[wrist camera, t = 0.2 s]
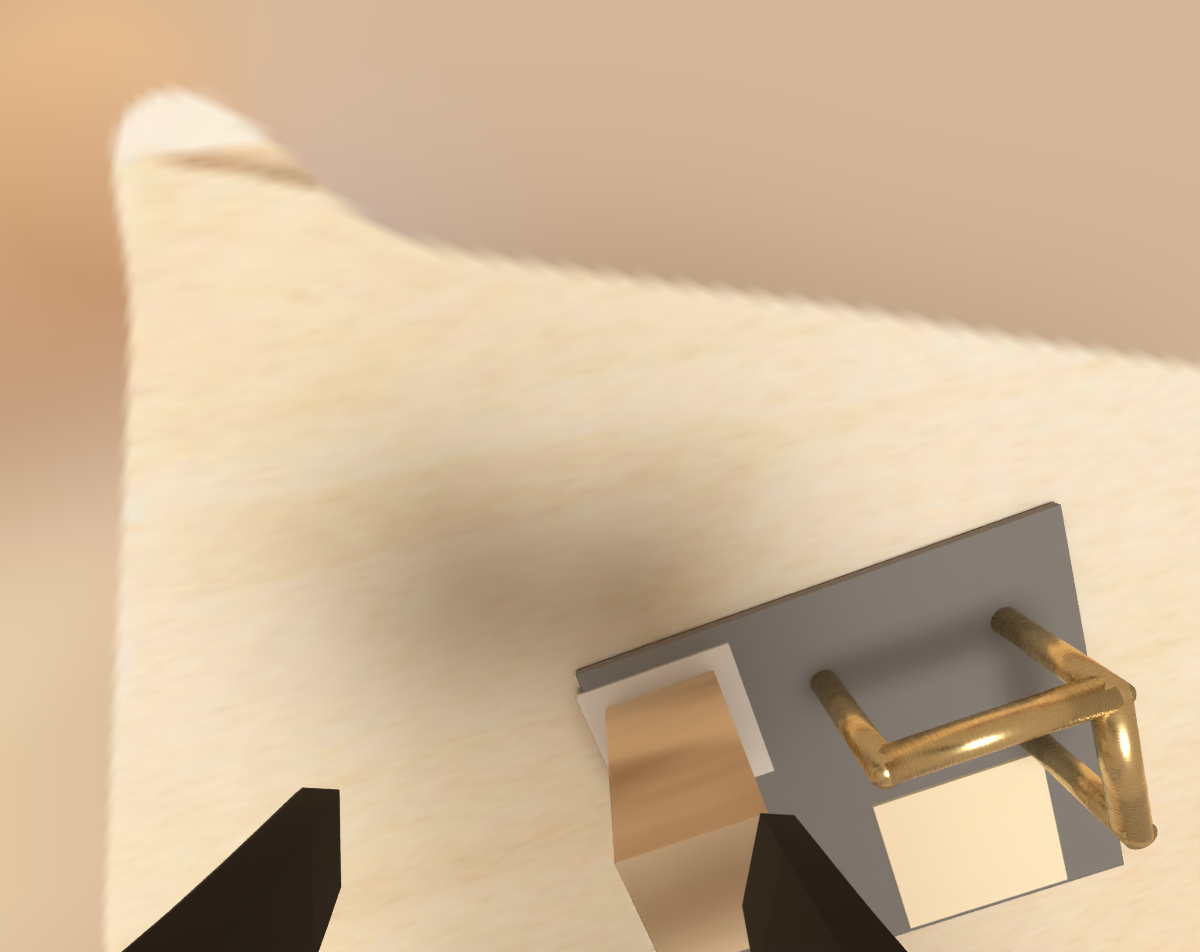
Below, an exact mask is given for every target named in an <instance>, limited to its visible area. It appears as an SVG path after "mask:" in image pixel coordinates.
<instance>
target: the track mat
mask: <svg viewBox="0 0 1200 952" xmlns="http://www.w3.org/2000/svg"><path fill="white" fill-rule="evenodd" d="M1004 607H1011V608H1014V609H1016V610H1017V611H1019V612H1020V613H1022V614H1023V615H1025V616H1027V617H1028V618H1030V619H1031V620H1033V621H1034V622H1036V623H1037V624H1039V625H1040V626H1042V627H1043V628H1045V629H1046V630H1048V631H1050V632H1051V633H1053V634H1054V635H1056V636H1057V637H1059V638H1060V639H1062V640H1063V641H1065V642H1066V643H1068V644H1070V645H1071V646H1073V647H1074V648H1076V649H1077V650H1079V651H1080V652H1082V653H1083V654H1085V655H1086V656H1087V652H1086V646H1085V640H1084V635H1083V629H1082V623H1081V618H1080V612H1079V606H1078V601H1077V595H1076V589H1075V583H1074V578H1073V572H1072V566H1071V561H1070V555H1069V549H1068V544H1067V538H1066V532H1065V527H1064V521H1063V515H1062V510H1061V505H1060V504H1057V503H1055V502H1052V503H1049V504H1046V505H1043V506H1041V507H1038V508H1035V509H1032V510H1029V511H1026V512H1024V513H1021V514H1018V515H1015V516H1012V517H1009V518H1007V519H1004V520H1001V521H998V522H995V523H993V524H990V525H987V526H984V527H981V528H978V529H976V530H973V531H970V532H967V533H964V534H961V535H959V536H956V537H953V538H950V539H947V540H944V541H942V542H939V543H936V544H933V545H930V546H928V547H925V548H922V549H919V550H916V551H913V552H911V553H908V554H905V555H902V556H899V557H896V558H894V559H891V560H888V561H885V562H882V563H879V564H877V565H874V566H871V567H868V568H865V569H863V570H860V571H857V572H854V573H851V574H848V575H846V576H843V577H840V578H837V579H834V580H831V581H829V582H826V583H823V584H820V585H817V586H815V587H812V588H809V589H806V590H803V591H800V592H798V593H795V594H792V595H789V596H786V597H783V598H781V599H778V600H775V601H772V602H769V603H766V604H764V605H761V606H758V607H755V608H752V609H750V610H747V611H744V612H741V613H738V614H735V615H733V616H730V617H727V618H724V619H721V620H718V621H716V622H713V623H710V624H707V625H704V626H701V627H699V628H696V629H693V630H690V631H687V632H685V633H682V634H679V635H676V636H673V637H670V638H668V639H665V640H662V641H659V642H656V643H653V644H651V645H648V646H645V647H642V648H639V649H636V650H634V651H631V652H628V653H625V654H622V655H620V656H617V657H614V658H611V659H608V660H605V661H603V662H600V663H597V664H594V665H591V666H588V667H586V668H583V669H580V670H577V671H576V677H577V679H578V682H579V684H580V686H581V688H582V691H583V693H580V694H577V695H575V698H576V700H577V702H578V704H579V707H580V709H581V711H582V713H583V715H584V718H585V720H586V722H587V724H588V726H589V729H590V731H591V733H592V735H593V738H594V740H595V742H596V744H597V746H598V749H599V751H600V753H601V755H602V757H603V760H604V762H605V764H606V766H607V769H608V771H609V765H608V749H607V733H606V717H605V708H606V707H609V706H612V705H615V704H618V703H621V702H624V701H626V700H629V699H632V698H635V697H638V696H641V695H644V694H647V693H649V692H652V691H655V690H658V689H661V688H664V687H667V686H669V685H672V684H675V683H678V682H681V681H684V680H687V679H690V678H692V677H695V676H698V675H701V674H704V673H707V672H710V671H713V670H714V673H715V676H716V678H717V681H718V683H719V686H720V689H721V691H722V694H723V696H724V699H725V702H726V704H727V707H728V709H729V712H730V715H731V717H732V720H733V722H734V725H735V728H736V730H737V733H738V735H739V738H740V741H741V743H742V746H743V748H744V751H745V754H746V756H747V759H748V761H749V764H750V766H751V769H752V772H753V774H754V777H755V779H756V782H757V785H758V787H759V790H760V792H761V795H762V798H763V800H764V803H765V805H766V808H767V811H768V813H769V814H786V815H795V816H796V818H797V819H798V820H799V821H800V822H801V824H802V825H803V826H804V827H805V829H806V830H807V831H808V832H809V833H810V835H811V836H812V837H813V838H814V840H815V841H816V842H817V843H818V845H819V846H820V847H821V848H822V850H823V851H824V852H825V853H826V855H827V856H828V857H829V858H830V860H831V861H832V862H833V863H834V865H835V866H836V867H837V868H838V870H839V871H840V872H841V873H842V874H843V876H844V877H845V878H846V879H847V881H848V882H849V883H850V884H851V886H852V887H853V888H854V889H855V890H856V892H857V893H858V894H859V895H860V897H861V898H862V899H863V900H864V901H865V903H866V904H867V905H868V906H869V907H870V909H871V910H872V911H873V912H874V913H875V915H876V916H877V917H878V918H879V919H880V920H881V922H882V923H883V924H884V925H885V926H886V927H887V929H888V930H889V931H890V932H891V933H892V934H893V936H897V935H901V934H904V933H907V932H910V931H913V930H917V929H920V928H923V927H926V926H929V925H933V924H936V923H939V922H942V921H945V920H949V919H952V918H955V917H958V916H961V915H965V914H968V913H971V912H974V911H977V910H981V909H984V908H987V907H990V906H993V905H997V904H1000V903H1003V902H1006V901H1009V900H1013V899H1016V898H1019V897H1022V896H1025V895H1028V894H1032V893H1035V892H1038V891H1041V890H1044V889H1048V888H1051V887H1054V886H1057V885H1060V884H1064V883H1067V882H1070V881H1073V880H1076V879H1080V878H1083V877H1086V876H1089V875H1092V874H1096V873H1099V872H1102V871H1105V870H1108V869H1112V868H1115V867H1118V866H1121V865H1124V862H1123V856H1122V851H1121V845H1120V840H1119V839H1118V838H1117V837H1116V836H1115V835H1114V834H1113V833H1112V832H1111V831H1110V830H1109V829H1108V828H1107V827H1106V826H1105V825H1104V824H1103V823H1102V822H1100V821H1099V820H1098V819H1097V818H1096V817H1095V816H1094V815H1093V814H1092V813H1091V812H1090V811H1089V810H1088V809H1087V808H1086V807H1085V806H1084V805H1083V804H1082V803H1081V802H1080V801H1078V800H1077V799H1076V798H1075V797H1074V796H1073V795H1072V794H1071V793H1070V792H1069V791H1068V790H1067V789H1066V788H1065V787H1064V786H1063V785H1062V784H1061V783H1060V782H1059V781H1057V780H1056V779H1055V778H1054V777H1053V776H1052V775H1051V774H1050V773H1049V772H1048V771H1047V770H1046V769H1045V768H1044V767H1043V766H1042V765H1041V764H1040V763H1039V762H1038V761H1036V760H1035V759H1034V758H1033V757H1032V756H1031V755H1030V754H1029V753H1028V752H1027V751H1026V750H1025V749H1024V748H1023V747H1022V746H1021V745H1020V744H1017V745H1014V746H1011V747H1008V748H1005V749H1002V750H999V751H996V752H993V753H990V754H986V755H983V756H980V757H977V758H974V759H971V760H968V761H965V762H962V763H959V764H956V765H953V766H950V767H947V768H944V769H941V770H938V771H935V772H932V773H929V774H926V775H923V776H920V777H917V778H914V779H911V780H908V781H904V782H901V783H900V784H899V785H897V786H896V787H894V788H891V789H879V788H877V787H875V786H874V785H873V784H872V783H871V781H870V780H869V778H868V777H867V775H866V773H865V772H864V770H863V769H862V767H861V766H860V764H859V762H858V761H857V759H856V758H855V756H854V755H853V753H852V751H851V750H850V748H849V747H848V745H847V744H846V742H845V740H844V739H843V737H842V736H841V734H840V733H839V731H838V729H837V728H836V726H835V725H834V723H833V722H832V720H831V718H830V717H829V715H828V714H827V712H826V711H825V709H824V707H823V706H822V704H821V703H820V701H819V700H818V698H817V696H816V695H815V693H814V692H813V690H812V689H811V686H810V682H811V679H812V677H813V676H814V674H816V673H817V672H819V671H821V670H831V671H833V672H835V673H836V674H837V676H838V677H839V679H840V680H841V681H842V683H843V684H844V685H845V687H846V688H847V689H848V691H849V692H850V694H851V695H852V696H853V698H854V699H855V700H856V702H857V703H858V704H859V706H860V707H861V709H862V710H863V711H864V713H865V714H866V715H867V717H868V718H869V719H870V721H871V722H872V724H873V725H874V726H875V728H876V729H877V730H878V732H879V733H880V734H881V736H882V737H883V739H884V740H885V741H886V743H889V742H892V741H895V740H898V739H901V738H904V737H907V736H910V735H913V734H916V733H919V732H922V731H925V730H928V729H931V728H934V727H937V726H940V725H943V724H946V723H949V722H952V721H955V720H958V719H961V718H964V717H967V716H970V715H973V714H976V713H979V712H982V711H985V710H988V709H991V708H994V707H997V706H1000V705H1003V704H1006V703H1009V702H1012V701H1015V700H1018V699H1021V698H1024V697H1027V696H1030V695H1033V694H1036V693H1039V692H1042V691H1045V690H1048V689H1051V688H1054V687H1057V686H1060V685H1063V684H1066V683H1065V682H1064V681H1062V680H1061V679H1059V678H1058V677H1057V676H1055V675H1054V674H1053V673H1051V672H1050V671H1049V670H1047V669H1046V668H1044V667H1043V666H1042V665H1040V664H1039V663H1038V662H1036V661H1035V660H1034V659H1032V658H1031V657H1030V656H1028V655H1027V654H1025V653H1024V652H1023V651H1021V650H1020V649H1019V648H1017V647H1016V646H1015V645H1013V644H1012V643H1011V642H1009V641H1008V640H1006V639H1005V638H1004V637H1002V636H1001V635H1000V634H998V633H997V632H996V631H994V630H993V628H992V627H991V619H992V616H993V615H994V614H995V612H997V611H998V610H999V609H1001V608H1004ZM1050 735H1051V736H1053V737H1054V738H1055V739H1056V740H1057V741H1058V742H1060V743H1061V744H1062V745H1063V746H1064V747H1065V748H1066V749H1068V750H1069V751H1070V752H1071V753H1072V754H1073V755H1074V756H1076V757H1077V758H1078V759H1079V760H1080V761H1081V762H1083V763H1084V764H1085V765H1086V766H1087V767H1088V768H1089V769H1091V770H1092V771H1093V772H1094V773H1095V774H1096V775H1097V776H1099V777H1100V771H1099V766H1098V760H1097V755H1096V749H1095V744H1094V738H1093V733H1092V727H1091V721H1087V722H1084V723H1081V724H1078V725H1075V726H1072V727H1068V728H1065V729H1062V730H1059V731H1056V732H1053V733H1050ZM1100 778H1101V777H1100ZM739 952H750V948H749V949H745V950H742V951H739Z"/></svg>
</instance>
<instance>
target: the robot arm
mask: <svg viewBox="0 0 1200 952" xmlns="http://www.w3.org/2000/svg"><path fill="white" fill-rule="evenodd" d="M340 889H341V853H340V794H339V790H337V789H319V788H301V789H300V790H299V791H298V792H296V793H295V794H294V795H293V796H292V797H291V798H290V799H289V800H288V801H287V802H286V803H285V804H284V805H283V806H282V807H280V808H279V809H278V810H277V811H276V812H275V813H274V814H273V815H272V816H271V817H270V818H269V819H268V820H267V821H266V822H265V823H264V824H263V825H262V826H261V827H260V828H259V829H258V830H257V831H255V832H254V833H253V834H252V835H251V836H250V837H249V838H248V839H247V840H246V841H245V842H244V843H243V844H242V845H241V846H240V847H239V848H238V849H236V850H235V851H234V852H233V853H232V854H231V855H230V856H229V857H228V858H227V859H226V860H225V861H224V862H223V863H222V864H220V865H219V866H218V867H217V868H216V869H215V870H214V871H213V872H212V873H211V874H210V875H208V876H207V877H206V878H205V879H204V880H203V881H202V882H201V883H200V884H199V885H197V886H196V887H195V888H194V889H193V890H192V891H191V892H190V893H189V894H188V895H186V896H185V897H184V898H183V899H182V900H181V901H180V902H179V903H178V904H177V905H175V906H174V907H173V908H172V909H171V910H170V911H169V912H168V913H166V914H165V915H164V916H163V917H162V918H161V919H160V920H158V921H157V922H156V923H155V924H154V925H153V926H151V927H150V928H149V929H148V930H147V931H145V932H144V933H143V934H142V935H141V936H140V937H138V938H137V939H136V940H135V941H134V942H133V943H131V944H130V945H129V946H128V947H127V948H126V949H124V950H123V951H122V952H319V949H320V946H321V943H322V941H323V938H324V935H325V932H326V929H327V927H328V924H329V921H330V918H331V915H332V912H333V909H334V906H335V903H336V900H337V897H338V894H339V892H340ZM742 909H743V914H744V920H745V925H746V931H747V936H748V942H749V947H750V952H907V951H906V950H905V949H904V947H903V946H902V945H901V944H900V943H899V941H898V940H897V939H896V938H895V937H894V936H893V934H892V933H891V932H890V931H889V930H888V929H887V927H886V926H885V925H884V924H883V923H882V922H881V920H880V919H879V918H878V917H877V916H876V915H875V913H874V912H873V911H872V910H871V909H870V907H869V906H868V905H867V904H866V903H865V901H864V900H863V899H862V898H861V897H860V895H859V894H858V893H857V892H856V890H855V889H854V888H853V887H852V886H851V884H850V883H849V882H848V881H847V879H846V878H845V877H844V876H843V874H842V873H841V872H840V871H839V870H838V868H837V867H836V866H835V865H834V863H833V862H832V861H831V860H830V858H829V857H828V856H827V855H826V853H825V852H824V851H823V850H822V848H821V847H820V846H819V845H818V843H817V842H816V841H815V840H814V838H813V837H812V836H811V835H810V833H809V832H808V831H807V830H806V829H805V827H804V826H803V825H802V824H801V822H800V821H799V820H798V819H797V818H796V816H795V815H786V814H768V813H760V816H759V821H758V827H757V832H756V837H755V842H754V847H753V852H752V857H751V862H750V867H749V872H748V877H747V883H746V888H745V893H744V898H743V903H742Z"/></svg>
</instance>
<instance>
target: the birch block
mask: <svg viewBox="0 0 1200 952" xmlns="http://www.w3.org/2000/svg"><path fill="white" fill-rule="evenodd" d="M605 717H606V733H607V749H608V765H609V781H610V797H611V813H612V829H613V845H614V861H615V865H616V867H617V869H618V871H619V874H620V876H621V878H622V880H623V882H624V884H625V886H626V888H627V890H628V893H629V895H630V897H631V899H632V901H633V903H634V905H635V907H636V910H637V912H638V914H639V916H640V918H641V920H642V922H643V924H644V926H645V929H646V931H647V933H648V935H649V937H650V939H651V941H652V943H653V946H654V948H655V950H656V952H739V951H742V950H745V949H749V948H750V947H749V942H748V936H747V931H746V925H745V920H744V914H743V909H742V903H743V898H744V893H745V888H746V883H747V877H748V872H749V867H750V862H751V857H752V852H753V847H754V842H755V837H756V832H757V827H758V821H759V816H760V813H768V811H767V808H766V805H765V803H764V800H763V798H762V795H761V792H760V790H759V787H758V785H757V782H756V779H755V777H754V774H753V772H752V769H751V766H750V764H749V761H748V759H747V756H746V754H745V751H744V748H743V746H742V743H741V741H740V738H739V735H738V733H737V730H736V728H735V725H734V722H733V720H732V717H731V715H730V712H729V709H728V707H727V704H726V702H725V699H724V696H723V694H722V691H721V689H720V686H719V683H718V681H717V678H716V676H715V673H714V670H713V671H710V672H707V673H704V674H701V675H698V676H695V677H692V678H690V679H687V680H684V681H681V682H678V683H675V684H672V685H669V686H667V687H664V688H661V689H658V690H655V691H652V692H649V693H647V694H644V695H641V696H638V697H635V698H632V699H629V700H626V701H624V702H621V703H618V704H615V705H612V706H609V707H606V708H605ZM768 814H769V813H768Z"/></svg>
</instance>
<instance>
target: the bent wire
mask: <svg viewBox="0 0 1200 952" xmlns="http://www.w3.org/2000/svg"><path fill="white" fill-rule="evenodd" d="M991 627H992V628H993V630H994V631H996V632H997V633H998V634H1000V635H1001V636H1002V637H1004V638H1005V639H1006V640H1008V641H1009V642H1011V643H1012V644H1013V645H1015V646H1016V647H1017V648H1019V649H1020V650H1021V651H1023V652H1024V653H1025V654H1027V655H1028V656H1030V657H1031V658H1032V659H1034V660H1035V661H1036V662H1038V663H1039V664H1040V665H1042V666H1043V667H1044V668H1046V669H1047V670H1049V671H1050V672H1051V673H1053V674H1054V675H1055V676H1057V677H1058V678H1059V679H1061V680H1062V681H1064V682H1065V683H1066V684H1063V685H1060V686H1057V687H1054V688H1051V689H1048V690H1045V691H1042V692H1039V693H1036V694H1033V695H1030V696H1027V697H1024V698H1021V699H1018V700H1015V701H1012V702H1009V703H1006V704H1003V705H1000V706H997V707H994V708H991V709H988V710H985V711H982V712H979V713H976V714H973V715H970V716H967V717H964V718H961V719H958V720H955V721H952V722H949V723H946V724H943V725H940V726H937V727H934V728H931V729H928V730H925V731H922V732H919V733H916V734H913V735H910V736H907V737H904V738H901V739H898V740H895V741H892V742H889V743H886V741H885V740H884V739H883V737H882V736H881V734H880V733H879V732H878V730H877V729H876V728H875V726H874V725H873V724H872V722H871V721H870V719H869V718H868V717H867V715H866V714H865V713H864V711H863V710H862V709H861V707H860V706H859V704H858V703H857V702H856V700H855V699H854V698H853V696H852V695H851V694H850V692H849V691H848V689H847V688H846V687H845V685H844V684H843V683H842V681H841V680H840V679H839V677H838V676H837V674H836V673H835V672H833V671H831V670H821V671H819V672H817V673H816V674H814V676H813V677H812V679H811V682H810V686H811V689H812V690H813V692H814V693H815V695H816V696H817V698H818V700H819V701H820V703H821V704H822V706H823V707H824V709H825V711H826V712H827V714H828V715H829V717H830V718H831V720H832V722H833V723H834V725H835V726H836V728H837V729H838V731H839V733H840V734H841V736H842V737H843V739H844V740H845V742H846V744H847V745H848V747H849V748H850V750H851V751H852V753H853V755H854V756H855V758H856V759H857V761H858V762H859V764H860V766H861V767H862V769H863V770H864V772H865V773H866V775H867V777H868V778H869V780H870V781H871V783H872V784H873V785H874V786H875V787H877V788H879V789H891V788H894V787H896V786H897V785H899V784H900V783H901V782H904V781H908V780H911V779H914V778H917V777H920V776H923V775H926V774H929V773H932V772H935V771H938V770H941V769H944V768H947V767H950V766H953V765H956V764H959V763H962V762H965V761H968V760H971V759H974V758H977V757H980V756H983V755H986V754H990V753H993V752H996V751H999V750H1002V749H1005V748H1008V747H1011V746H1014V745H1017V744H1020V745H1021V746H1022V747H1023V748H1024V749H1025V750H1026V751H1027V752H1028V753H1029V754H1030V755H1031V756H1032V757H1033V758H1034V759H1035V760H1036V761H1038V762H1039V763H1040V764H1041V765H1042V766H1043V767H1044V768H1045V769H1046V770H1047V771H1048V772H1049V773H1050V774H1051V775H1052V776H1053V777H1054V778H1055V779H1056V780H1057V781H1059V782H1060V783H1061V784H1062V785H1063V786H1064V787H1065V788H1066V789H1067V790H1068V791H1069V792H1070V793H1071V794H1072V795H1073V796H1074V797H1075V798H1076V799H1077V800H1078V801H1080V802H1081V803H1082V804H1083V805H1084V806H1085V807H1086V808H1087V809H1088V810H1089V811H1090V812H1091V813H1092V814H1093V815H1094V816H1095V817H1096V818H1097V819H1098V820H1099V821H1100V822H1102V823H1103V824H1104V825H1105V826H1106V827H1107V828H1108V829H1109V830H1110V831H1111V832H1112V833H1113V834H1114V835H1115V836H1116V837H1117V838H1118V839H1119V840H1120V841H1121V842H1123V843H1124V844H1125V845H1126V846H1127V847H1128V848H1130V849H1142V848H1145V847H1147V846H1149V845H1150V844H1151V843H1152V842H1153V841H1154V840H1155V838H1156V836H1157V828H1156V826H1155V825H1154V824H1153V822H1152V816H1151V810H1150V803H1149V797H1148V790H1147V784H1146V777H1145V771H1144V764H1143V758H1142V752H1141V745H1140V739H1139V732H1138V726H1137V719H1136V713H1135V707H1134V701H1135V699H1136V690H1135V688H1134V687H1133V686H1132V685H1131V684H1129V683H1128V682H1126V681H1125V680H1123V679H1122V678H1120V677H1119V676H1117V675H1116V674H1114V673H1112V672H1111V671H1109V670H1108V669H1106V668H1105V667H1103V666H1102V665H1100V664H1099V663H1097V662H1096V661H1094V660H1093V659H1091V658H1089V657H1088V656H1086V655H1085V654H1083V653H1082V652H1080V651H1079V650H1077V649H1076V648H1074V647H1073V646H1071V645H1070V644H1068V643H1066V642H1065V641H1063V640H1062V639H1060V638H1059V637H1057V636H1056V635H1054V634H1053V633H1051V632H1050V631H1048V630H1046V629H1045V628H1043V627H1042V626H1040V625H1039V624H1037V623H1036V622H1034V621H1033V620H1031V619H1030V618H1028V617H1027V616H1025V615H1023V614H1022V613H1020V612H1019V611H1017V610H1016V609H1014V608H1011V607H1004V608H1001V609H999V610H998V611H997V612H995V614H994V615H993V616H992V619H991ZM1087 721H1091V727H1092V733H1093V738H1094V744H1095V749H1096V755H1097V760H1098V766H1099V771H1100V777H1101V778H1100V777H1099V776H1097V775H1096V774H1095V773H1094V772H1093V771H1092V770H1091V769H1089V768H1088V767H1087V766H1086V765H1085V764H1084V763H1083V762H1081V761H1080V760H1079V759H1078V758H1077V757H1076V756H1074V755H1073V754H1072V753H1071V752H1070V751H1069V750H1068V749H1066V748H1065V747H1064V746H1063V745H1062V744H1061V743H1060V742H1058V741H1057V740H1056V739H1055V738H1054V737H1053V736H1051V735H1050V733H1053V732H1056V731H1059V730H1062V729H1065V728H1068V727H1072V726H1075V725H1078V724H1081V723H1084V722H1087Z"/></svg>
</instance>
